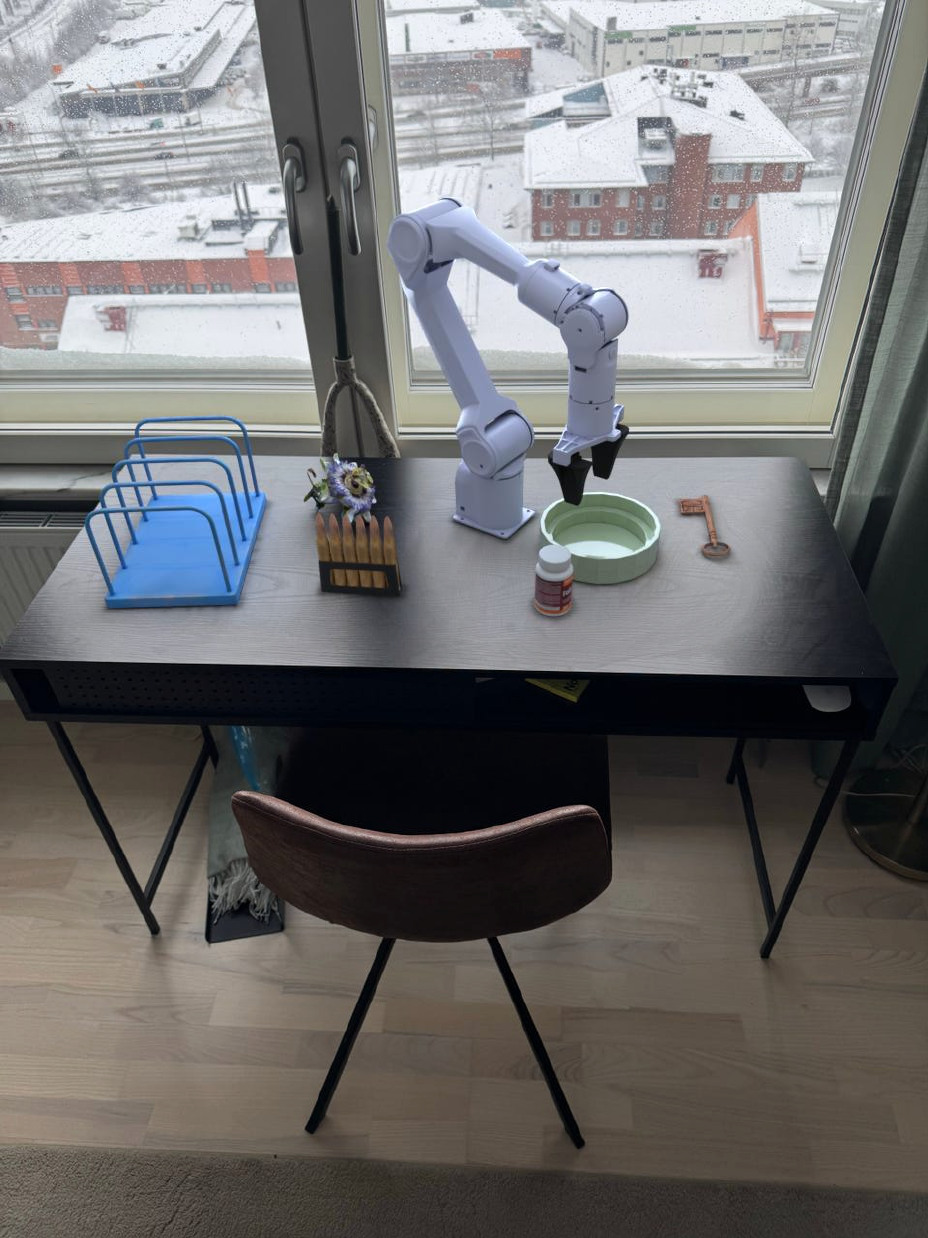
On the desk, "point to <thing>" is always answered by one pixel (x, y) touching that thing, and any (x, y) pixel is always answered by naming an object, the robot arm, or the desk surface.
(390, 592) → the ammunition clip
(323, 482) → the passion flower
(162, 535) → the file sorter
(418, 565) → the desk surface
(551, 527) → the bowl
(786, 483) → the desk surface
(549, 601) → the pill bottle
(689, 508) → the key
